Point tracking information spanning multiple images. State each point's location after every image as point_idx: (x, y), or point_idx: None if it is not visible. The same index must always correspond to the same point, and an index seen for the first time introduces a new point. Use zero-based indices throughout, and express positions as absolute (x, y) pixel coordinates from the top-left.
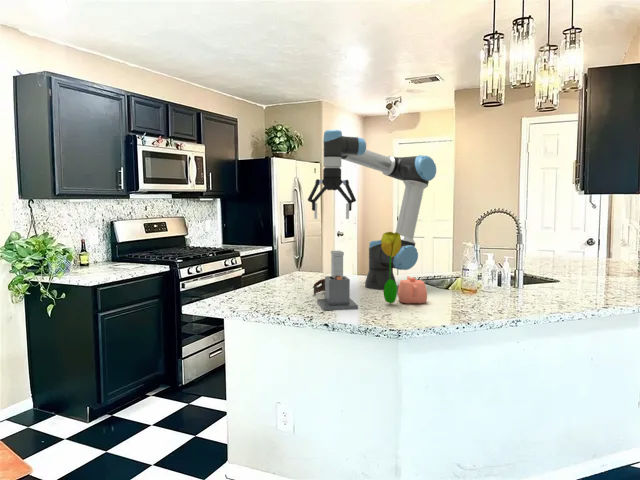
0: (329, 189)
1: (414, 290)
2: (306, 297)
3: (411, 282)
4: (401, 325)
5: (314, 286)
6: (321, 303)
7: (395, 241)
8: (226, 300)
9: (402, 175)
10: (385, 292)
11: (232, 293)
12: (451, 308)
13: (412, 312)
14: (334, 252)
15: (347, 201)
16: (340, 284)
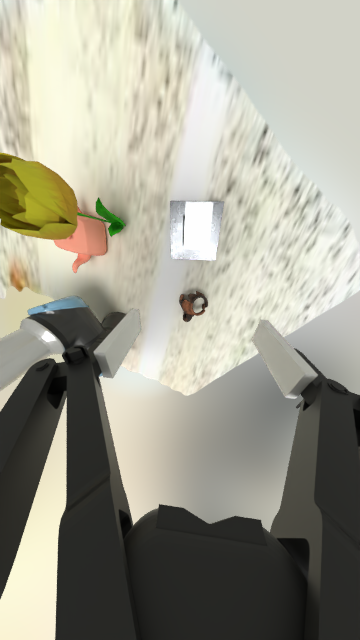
0: (253, 536)
1: None
2: (217, 292)
3: None
4: (121, 13)
5: (205, 306)
6: (219, 228)
7: (4, 155)
8: (317, 297)
9: None
10: (120, 222)
11: (291, 329)
12: None
13: (93, 154)
14: (211, 204)
15: (98, 382)
16: None
